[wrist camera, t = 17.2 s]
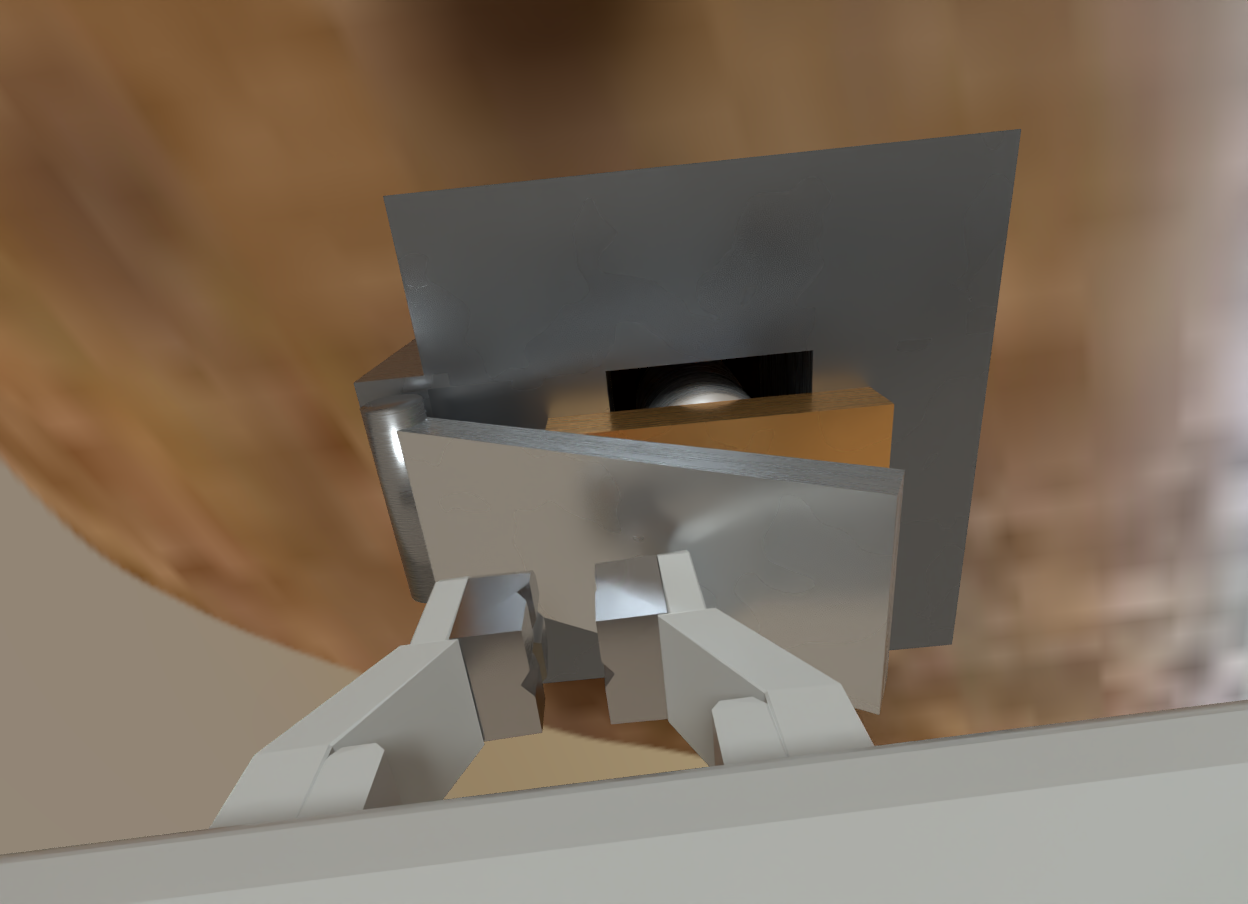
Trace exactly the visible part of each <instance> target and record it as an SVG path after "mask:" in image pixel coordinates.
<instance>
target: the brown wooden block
mask: <svg viewBox="0 0 1248 904" xmlns="http://www.w3.org/2000/svg"><path fill="white" fill-rule="evenodd" d="M636 408H637V409H636V410H626V411H615V412H605V413H594V414H584V415H574V416H563V417H553V418H548V421H547V425H546V429H545V430H548V431H558V432H567V433H576V434H585V435H594V436H603V437H612V438H621V439H630V440H639V441H648V442H657V443H667V444H676V445H685V446H694V447H703V448H712V449H721V450H730V451H739V452H748V453H757V454H767V455H776V456H785V457H794V458H803V459H812V460H821V461H830V462H839V463H848V464H857V465H866V466H876V467H885V468H889V465H890V452H891V440H892V427H893V415H894V403H892V402H891V401H889V400H888V399H887V398H885V397H884V396H882V395H881V394H879V393H878V392H877V391H875V390H874V389H872V388H871V387H865V388H855V389H844V390H834V391H823V392H813V393H802V394H792V395H782V396H771V397H761V398H750V397H749V395H748V394H747V392H746V391H745V390H744V388H743V387H742V386H741V384H740V383H739V382H738V380H737V379H736V377H735V376H734V375H733V373H732V372H731V371H730V369H729V368H728V367H727V365H726V364H725V363H724V362H723V361H722V360H711V361H701V362H692V363H682V364H672V365H662V366H652V367H648V369H647V370H646V371H645V373H644V374H643V376H642V378H641V379H640V382H639V384H638V388H637V392H636Z"/></svg>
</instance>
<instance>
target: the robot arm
mask: <svg viewBox="0 0 1248 904" xmlns="http://www.w3.org/2000/svg"><path fill="white" fill-rule="evenodd" d="M595 581H596V589H597V591H596V592H595V609H596V626H597V633H598V641H599V648H600V655H601V662H602V663H603V664H604V672H605V690H606V696H607V702H608V709H609V715H610V721H611V724H620V723H630V722H641V721H651V720H662V719H668V721H669V723H670V724H671V725H672V726H673V727H674V728H675V729H676V730H677V731H678V733H679V734H680V735H681V736H682V737H683V738H684V739H685V740H686V741H687V742H688V744H689V745H690V746H691V747H692V748H693V749H694V750H695V751H696V752H697V753H698V755H699V756H700V757H701V758H702V759H703V760H704V761H705V762H706V763H707V764H708V766H709V767H703V768H695V769H688V770H679V771H671V772H663V773H656V774H647V775H638V776H630V777H623V778H614V779H607V780H599V781H591V782H583V783H575V784H566V785H558V786H550V787H542V788H534V789H527V790H518V791H510V792H502V793H494V794H486V795H478V796H470V797H462V798H455V799H446V800H443V799H444V797H445V796H446V795H447V793H448V792H449V791H450V789H451V788H452V787H453V786H454V784H455V783H456V782H457V780H458V779H459V778H460V776H461V775H462V774H463V772H464V771H465V770H466V768H467V767H468V766H469V764H470V763H471V762H472V760H473V759H474V758H475V757H476V755H477V754H478V753H479V751H480V750H481V749H482V747H483V746H484V741H491V740H497V739H504V738H510V737H517V736H523V735H530V734H537V733H542V729H543V718H544V708H545V694H544V688H543V683H542V682H543V681H544V680H545V679H546V677H547V672H548V644H547V635H546V627H545V622H544V617H543V616H542V615H541V614H540V613H539V612H538V611H537V610H538V601H539V589H538V585H537V580H536V575H535V573H534V571H533V570H529V571H519V572H509V573H499V574H489V575H479V576H472V577H469V576H466V577H458V578H451V579H444V580H439V581H438V582H436V583H435V584H434V587H433V589H432V592H431V594H430V597H429V599H428V601H427V604H426V606H425V609H424V611H423V613H422V616H421V618H420V621H419V623H418V626H417V628H416V630H415V633H414V635H413V638H412V640H411V643H410V645H403V646H399V647H398V648H396V649H395V650H394V651H392V652H391V653H390V654H388V655H387V656H386V657H384V658H383V659H382V660H380V661H379V662H378V663H376V664H375V665H374V666H372V667H371V668H370V669H368V670H367V671H366V672H364V673H363V674H362V675H360V676H359V677H358V678H356V679H355V680H354V681H352V682H351V683H350V684H348V685H347V686H346V687H344V688H343V689H342V690H340V691H339V692H338V693H336V694H335V695H334V696H332V697H331V698H330V699H328V700H327V701H326V702H324V703H323V704H322V705H320V706H319V707H318V708H316V709H315V710H314V711H312V712H311V713H310V714H308V715H307V716H306V717H304V718H303V719H302V720H300V721H299V722H298V723H296V724H295V725H294V726H292V727H291V728H290V729H288V730H287V731H286V732H284V733H283V734H282V735H280V736H279V737H278V738H276V739H275V740H274V741H272V742H271V743H270V744H268V745H267V746H266V747H264V748H263V749H262V750H261V751H259V752H258V753H256V754H255V755H254V756H253V758H252V759H251V761H250V763H249V764H248V766H247V768H246V769H245V771H244V772H243V774H242V776H241V777H240V779H239V781H238V782H237V784H236V785H235V787H234V789H233V790H232V792H231V794H230V795H229V797H228V799H227V801H226V802H225V803H224V805H223V807H222V808H221V810H220V812H219V813H218V815H217V816H216V818H215V820H214V821H213V823H212V825H211V826H210V828H209V829H204V830H196V831H187V832H179V833H171V834H164V835H155V836H147V837H139V838H131V839H124V840H115V841H107V842H99V843H91V844H82V845H75V846H66V847H58V848H50V849H42V850H34V851H26V852H18V853H10V854H2V855H0V904H1248V700H1242V701H1234V702H1226V703H1217V704H1209V705H1201V706H1193V707H1185V708H1177V709H1169V710H1161V711H1153V712H1145V713H1137V714H1129V715H1121V716H1113V717H1105V718H1097V719H1089V720H1081V721H1073V722H1065V723H1057V724H1049V725H1040V726H1032V727H1024V728H1016V729H1008V730H1000V731H992V732H984V733H976V734H968V735H960V736H952V737H944V738H936V739H928V740H920V741H912V742H904V743H896V744H888V745H880V746H874V745H873V743H872V741H871V739H870V737H869V735H868V733H867V731H866V730H865V728H864V726H863V724H862V722H861V720H860V718H859V717H858V715H857V713H856V711H855V709H854V707H853V705H852V703H851V702H850V700H849V698H848V696H847V694H846V692H845V690H844V689H843V687H842V685H841V684H840V683H839V682H837V681H835V680H834V679H832V678H830V677H829V676H827V675H825V674H824V673H822V672H821V671H819V670H817V669H816V668H814V667H812V666H811V665H809V664H807V663H806V662H804V661H802V660H801V659H799V658H797V657H796V656H794V655H793V654H791V653H789V652H788V651H786V650H784V649H783V648H781V647H779V646H778V645H776V644H774V643H773V642H771V641H770V640H768V639H766V638H765V637H763V636H761V635H760V634H758V633H756V632H755V631H753V630H751V629H750V628H748V627H746V626H745V625H743V624H742V623H740V622H738V621H737V620H735V619H733V618H732V617H730V616H728V615H727V614H725V613H723V612H722V611H720V610H718V609H717V608H710V609H707V608H706V605H705V602H704V598H703V595H702V592H701V588H700V585H699V582H698V579H697V575H696V572H695V569H694V565H693V562H692V559H691V556H690V552H688V551H687V550H683V551H677V552H670V553H664V554H658V555H657V557H656V555H650V556H643V557H637V558H630V559H623V560H616V561H609V562H602V563H595Z"/></svg>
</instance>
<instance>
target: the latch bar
mask: <svg viewBox="0 0 1248 904" xmlns="http://www.w3.org/2000/svg"><path fill="white" fill-rule="evenodd" d="M360 411H361V415H362V418H363V422H364V426H365V429H366V433H367V437H368V440H369V444H370V448H371V451H372V455H373V458H374V462H375V466H376V469H377V473H378V477H379V480H380V484H381V487H382V491H383V495H384V498H385V502H386V506H387V509H388V513H389V516H390V520H391V524H392V527H393V531H394V535H395V538H396V542H397V546H398V549H399V553H400V556H401V560H402V564H403V567H404V571H405V575H406V578H407V582H408V585H409V589H410V593H411V596H412V598H413V599H414V600H415V601H418V602H421V603H427V601H428V599H429V597H430V594H431V592H432V589H433V587H434V584H435V583H436V582H438V581H439V580H444V579H451V578H458V577H466V576H469V577H472V576H479V575H489V574H499V573H509V572H519V571H529V570H533V571H534V573H535V575H536V580H537V585H538V589H539V601H538V610H537V611H538V612H539V613H540V614H541V615H542V616H543V617H544V618H548V619H551V620H555V621H558V622H562V623H565V624H569V625H572V626H575V627H579V628H582V629H586V630H589V631H593V632H596V633H597V626H596V609H595V592H596V591H597V589H596V581H595V563H602V562H609V561H616V560H623V559H630V558H637V557H643V556H650V555H656V557H657V555H658V554H664V553H670V552H677V551H683V550H687V551H688V552H690V556H691V559H692V562H693V565H694V569H695V572H696V575H697V579H698V582H699V585H700V588H701V592H702V595H703V598H704V602H705V605H706V608H707V609H710V608H717V609H718V610H720V611H722V612H723V613H725V614H727V615H728V616H730V617H732V618H733V619H735V620H737V621H738V622H740V623H742V624H743V625H745V626H746V627H748V628H750V629H751V630H753V631H755V632H756V633H758V634H760V635H761V636H763V637H765V638H766V639H768V640H770V641H771V642H773V643H774V644H776V645H778V646H779V647H781V648H783V649H784V650H786V651H788V652H789V653H791V654H793V655H794V656H796V657H797V658H799V659H801V660H802V661H804V662H806V663H807V664H809V665H811V666H812V667H814V668H816V669H817V670H819V671H821V672H822V673H824V674H825V675H827V676H829V677H830V678H832V679H834V680H835V681H837V682H839V683H840V684H841V685H842V687H843V689H844V690H845V692H846V694H847V696H848V698H849V700H850V702H851V703H852V705H853V707H854V708H857V709H861V710H864V711H868V712H871V713H874V714H878V715H879V713H880V709H881V704H882V699H883V694H884V689H885V685H886V680H887V670H888V659H889V647H890V636H891V624H892V612H893V601H894V589H895V578H896V566H897V555H898V543H899V531H900V520H901V508H902V497H903V485H904V474H905V470H903V469H894V468H885V467H876V466H866V465H857V464H848V463H839V462H830V461H821V460H812V459H803V458H794V457H785V456H776V455H767V454H757V453H748V452H739V451H730V450H721V449H712V448H703V447H694V446H685V445H676V444H667V443H657V442H648V441H639V440H630V439H621V438H612V437H603V436H594V435H585V434H576V433H567V432H558V431H548V430H539V429H530V428H521V427H512V426H503V425H494V424H485V423H476V422H467V421H458V420H449V419H439V418H430V417H427V415H426V411H425V406H424V402H423V398H422V396H421V395H417V394H400V395H393V396H388V397H383V398H380V399H376V400H373V401H371V402H368V403H366V404H365V405H363V406H362V407H361V408H360Z"/></svg>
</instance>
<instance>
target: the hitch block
mask: <svg viewBox="0 0 1248 904" xmlns="http://www.w3.org/2000/svg"><path fill="white" fill-rule="evenodd" d="M1020 134H1021V129H1016V130H1006V131H997V132H987V133H978V134H968V135H959V136H949V137H940V138H930V139H921V140H911V141H902V142H892V143H883V144H873V145H864V146H854V147H845V148H835V149H826V150H816V151H807V152H797V153H788V154H778V155H769V156H759V157H750V158H740V159H731V160H721V161H712V162H702V163H693V164H683V165H674V166H664V167H655V168H645V169H636V170H626V171H617V172H607V173H598V174H588V175H579V176H569V177H560V178H550V179H541V180H531V181H522V182H513V183H503V184H494V185H484V186H474V187H465V188H456V189H446V190H437V191H427V192H418V193H408V194H399V195H389V196H383V197H384V202H385V206H386V211H387V215H388V219H389V224H390V228H391V233H392V237H393V241H394V246H395V250H396V254H397V259H398V263H399V268H400V272H401V276H402V281H403V285H404V289H405V294H406V298H407V303H408V307H409V311H410V316H411V320H412V325H413V329H414V333H415V339H414V340H412V341H411V342H410V343H408V344H407V345H405V346H404V347H403V348H401V349H400V350H398V351H397V352H396V353H394V354H393V355H392V356H390V357H389V358H387V359H386V360H385V361H383V362H382V363H380V364H379V365H378V366H376V367H375V368H373V369H372V370H371V371H369V372H368V373H367V374H365V375H364V376H362V377H361V378H360V379H358V380H357V381H355V382H354V386H355V390H356V393H357V397H358V401H359V404H360V408H361V407H362V406H363V405H365V404H366V403H368V402H371V401H373V400H376V399H380V398H383V397H388V396H393V395H400V394H417V395H421V396H422V398H423V402H424V406H425V411H426V415H427V417H430V418H439V419H449V420H458V421H467V422H476V423H485V424H494V425H503V426H512V427H521V428H530V429H539V430H545V429H546V425H547V421H548V418H553V417H563V416H574V415H584V414H594V413H605V412H615V409H614V400H613V390H612V381H611V372H610V371H613V370H622V369H632V368H642V367H652V366H662V365H672V364H682V363H692V362H701V361H711V360H721V359H731V358H741V357H751V356H759V394H760V398H761V397H771V396H782V395H792V394H802V393H813V392H823V391H834V390H844V389H855V388H865V387H871V388H872V389H874V390H875V391H877V392H878V393H879V394H881V395H882V396H884V397H885V398H887V399H888V400H889V401H891V402H892V403H894V415H893V427H892V440H891V452H890V465H889V468H894V469H903V470H905V474H904V485H903V497H902V508H901V520H900V531H899V543H898V555H897V566H896V578H895V589H894V601H893V612H892V624H891V636H890V647H889V650H898V649H908V648H919V647H929V646H940V645H950V644H952V639H953V632H954V624H955V617H956V609H957V602H958V595H959V587H960V580H961V572H962V565H963V557H964V550H965V543H966V535H967V528H968V520H969V513H970V505H971V498H972V491H973V483H974V476H975V468H976V461H977V453H978V446H979V439H980V431H981V424H982V416H983V409H984V401H985V394H986V387H987V379H988V372H989V364H990V357H991V349H992V342H993V335H994V327H995V320H996V312H997V305H998V297H999V290H1000V283H1001V275H1002V268H1003V260H1004V253H1005V246H1006V238H1007V231H1008V223H1009V216H1010V208H1011V201H1012V194H1013V186H1014V179H1015V171H1016V164H1017V156H1018V149H1019V142H1020ZM544 622H545V627H546V635H547V644H548V672H547V677H546V679H545V680H544V681H543V682H542V683H552V682H562V681H573V680H583V679H594V678H604V677H605V672H604V664H603V663H602V662H601V655H600V648H599V641H598V633H596V632H593V631H589V630H586V629H582V628H579V627H575V626H572V625H569V624H565V623H562V622H558V621H555V620H551V619H548V618H544Z"/></svg>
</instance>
